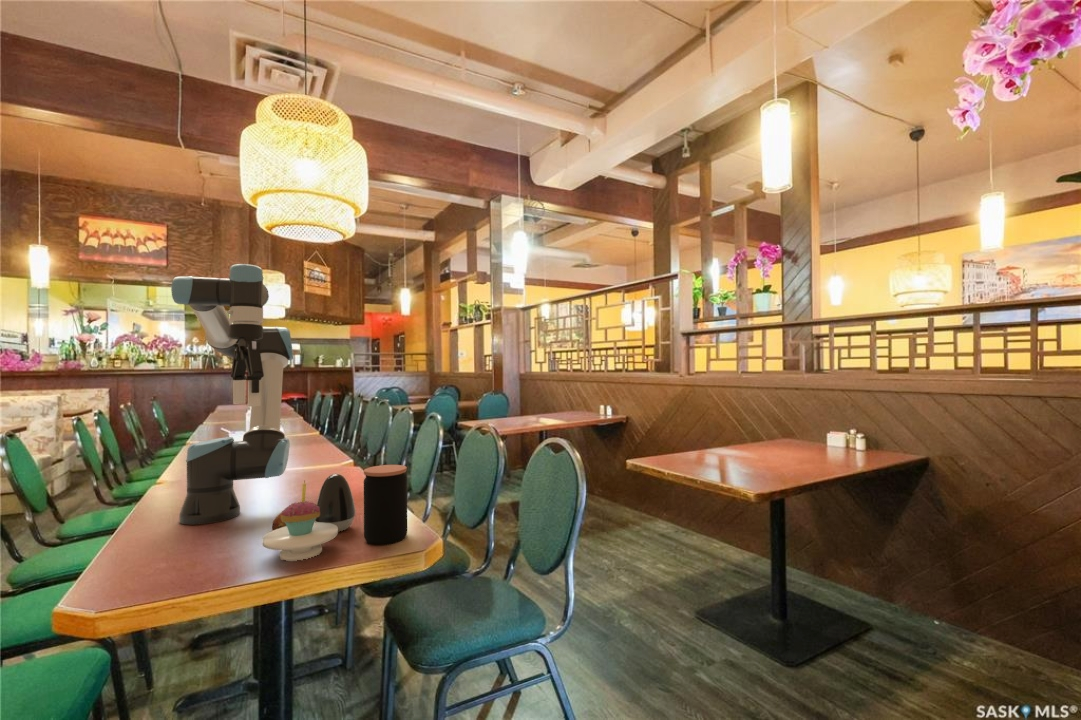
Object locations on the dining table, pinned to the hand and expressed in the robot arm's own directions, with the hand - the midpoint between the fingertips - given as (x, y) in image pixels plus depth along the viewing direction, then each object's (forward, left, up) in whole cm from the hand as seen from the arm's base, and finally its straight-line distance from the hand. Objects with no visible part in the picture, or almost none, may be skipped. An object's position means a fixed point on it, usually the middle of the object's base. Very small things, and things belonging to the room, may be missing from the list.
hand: (246, 405), depth 128 cm
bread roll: (+2, +11, -35) cm, 37 cm away
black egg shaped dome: (+10, +19, -35) cm, 41 cm away
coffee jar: (+27, +25, -35) cm, 51 cm away
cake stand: (+22, +6, -35) cm, 42 cm away
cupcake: (+22, +6, -30) cm, 38 cm away
